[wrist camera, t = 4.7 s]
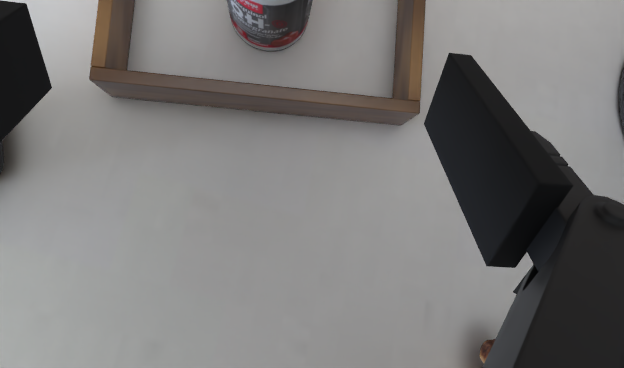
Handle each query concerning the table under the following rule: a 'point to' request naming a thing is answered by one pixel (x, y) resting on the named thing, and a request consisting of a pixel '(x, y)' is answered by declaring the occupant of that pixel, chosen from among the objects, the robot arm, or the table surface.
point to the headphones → (1, 156)
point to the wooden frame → (257, 97)
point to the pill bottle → (269, 21)
